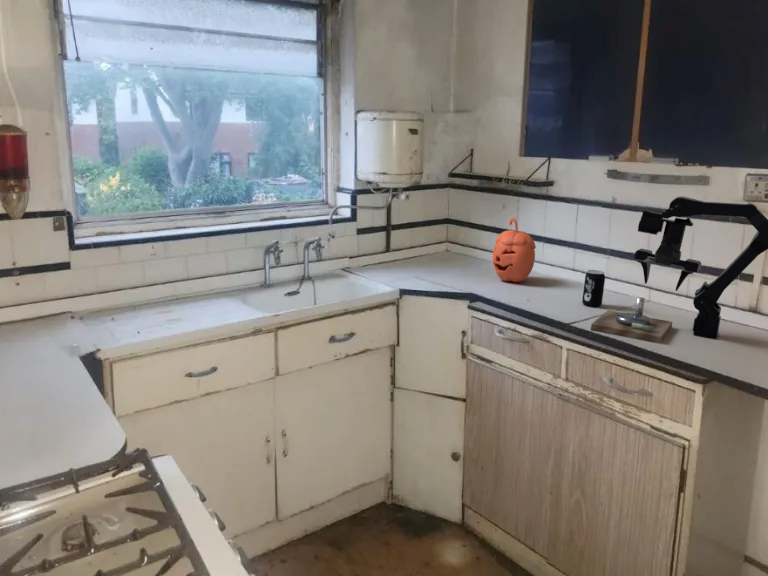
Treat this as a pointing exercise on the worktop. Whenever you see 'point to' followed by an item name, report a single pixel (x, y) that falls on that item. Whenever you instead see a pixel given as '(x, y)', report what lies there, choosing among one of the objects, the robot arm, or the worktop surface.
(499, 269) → the jack-o'-lantern
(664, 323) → the base plate
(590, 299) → the beverage can
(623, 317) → the silver curved piece
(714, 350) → the worktop surface
